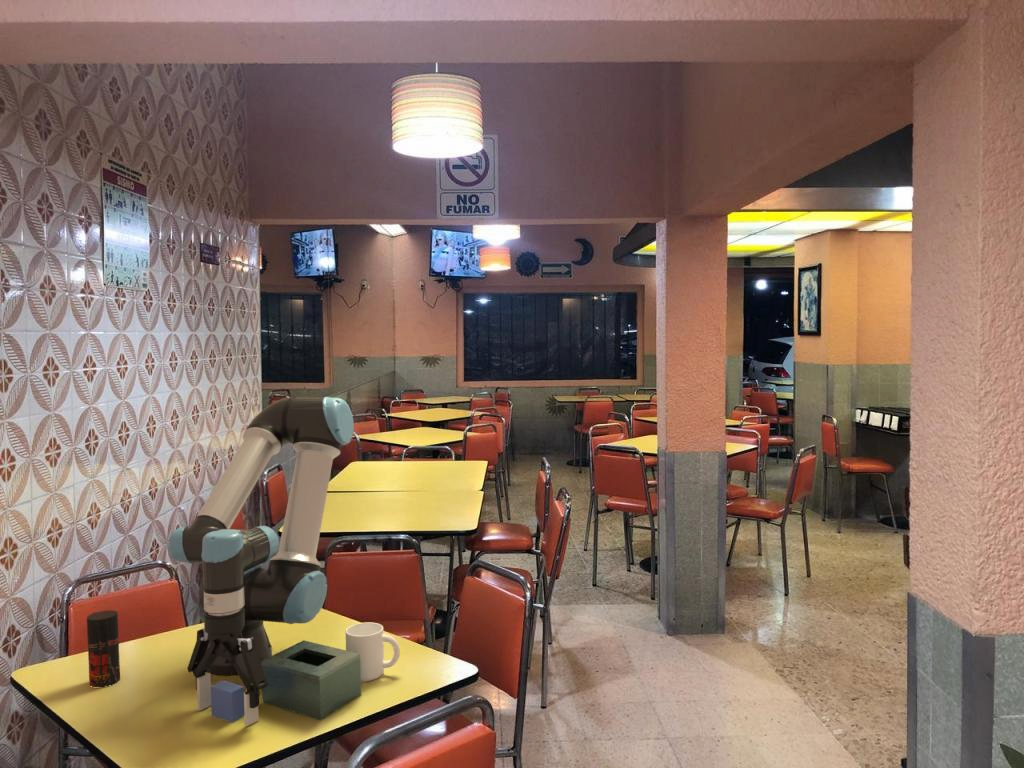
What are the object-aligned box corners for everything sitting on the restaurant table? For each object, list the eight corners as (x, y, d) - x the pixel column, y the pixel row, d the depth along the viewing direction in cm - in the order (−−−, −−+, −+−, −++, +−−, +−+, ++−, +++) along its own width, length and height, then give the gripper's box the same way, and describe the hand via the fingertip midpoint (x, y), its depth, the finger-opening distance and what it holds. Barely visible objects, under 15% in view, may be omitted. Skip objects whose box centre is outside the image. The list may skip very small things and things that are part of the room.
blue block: (211, 715, 147) (210, 686, 146) (223, 709, 149) (223, 680, 149) (232, 722, 144) (231, 692, 143) (244, 715, 146) (243, 686, 146)
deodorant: (85, 682, 162) (82, 615, 162) (114, 673, 167) (112, 608, 166) (94, 690, 158) (92, 622, 158) (124, 681, 163) (121, 614, 162)
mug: (404, 666, 168) (403, 622, 168) (396, 683, 160) (395, 636, 159) (352, 666, 169) (351, 622, 168) (341, 682, 161) (340, 636, 160)
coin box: (262, 702, 152) (261, 660, 151) (304, 679, 162) (303, 640, 162) (320, 720, 144) (319, 676, 144) (361, 694, 155) (360, 653, 154)
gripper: (166, 605, 148) (170, 709, 149) (254, 626, 136) (257, 738, 137) (198, 594, 155) (201, 693, 156) (284, 613, 143) (287, 720, 144)
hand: (227, 715), depth 146 cm, fingers open, 13 cm apart
